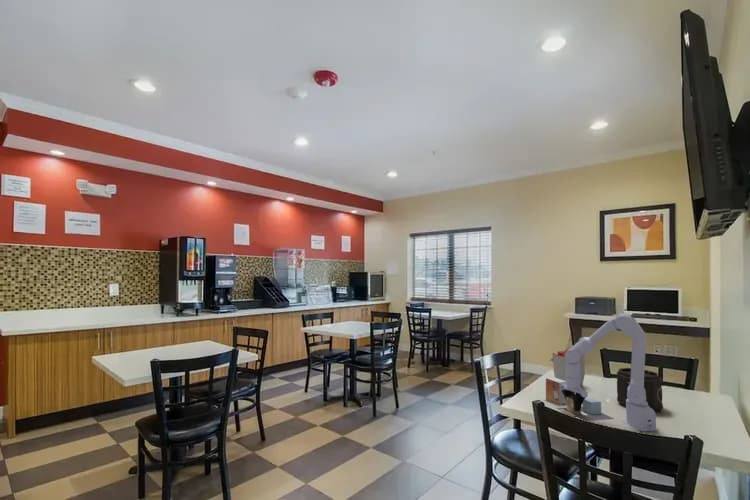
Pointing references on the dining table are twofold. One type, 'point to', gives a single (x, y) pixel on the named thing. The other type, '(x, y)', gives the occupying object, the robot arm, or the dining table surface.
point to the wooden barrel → (650, 384)
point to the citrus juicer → (560, 366)
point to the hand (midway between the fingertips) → (573, 409)
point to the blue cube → (591, 406)
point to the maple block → (571, 406)
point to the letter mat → (586, 415)
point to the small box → (555, 390)
